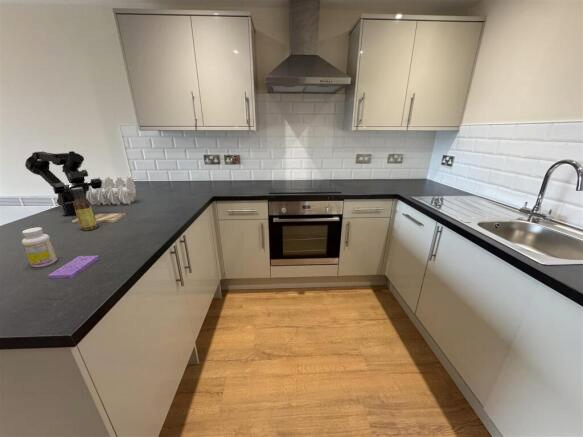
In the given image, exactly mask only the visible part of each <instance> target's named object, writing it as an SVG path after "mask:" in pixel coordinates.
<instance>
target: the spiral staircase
mask: <svg viewBox="0 0 583 437" xmlns="http://www.w3.org/2000/svg"><path fill="white" fill-rule="evenodd" d="M98 178H99V179H100V180H101V181H102V185H101V188H97V189H93V188H92V187H91V186H89V191H87V192H86V198H87V199H88V201H89V202H90V203H91V205H97V206H99V205H101V204H103V205H107V204H108V205H111V203H112V204H114V205H117V206H120V205H121V203H122V204H128V205H130V204H131V203H134V199H135V197H137V196H136V194H137V190H136V186H137V185H136V183H135V180H134V179H132V177H131V176H130V177H126V179H125V180H123V179H122V177H118V176H117V177H116V179H115V180H113V178H110V176H107V177H105V178H104V179H101V177H97V178H96V177H94V178H93V179H98Z"/></svg>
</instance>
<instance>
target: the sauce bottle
mask: <svg viewBox="0 0 583 437" xmlns="http://www.w3.org/2000/svg"><path fill="white" fill-rule="evenodd" d="M71 190H72V192H73V194H74V198H75V200H74V203H73V205H74V208H75V212H76V214H77V215H76V217H77V218H78V220H79V223H78V224H79V226H80V228H81V229H82V231H85V232H87V231H92V230H96V229H97V228H98V223H97V221H96V218H95V215H94V214H95V213H94V212H95V211H94V210H93V209H94V208H93V206H92V205H93V204H92V203H90V202H89V201H88V199H87V198H86V197H85V195H84V192H83V188H82V187H80V188H73V189H71Z"/></svg>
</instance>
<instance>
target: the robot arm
mask: <svg viewBox="0 0 583 437" xmlns="http://www.w3.org/2000/svg"><path fill="white" fill-rule="evenodd" d="M84 161H85V157H84V156H83V155H81V154H80V153H76V152H75V151H73V150H72V151H68V152H65V153H64V152H63V153H52V152H46V151H34V152H32V155H30V156H29V157H28V158H27V159H26V161H25V165H24V166H25V168H26V170H28V171H29V172H30V173H32V174H33V175H37V176H40V177H41V178H42V179H43V180H44V181H45V182H46V183H48V184H49V185H50V187H52V190H53V192H54V194H56V195H57V199H56V203H57V205H58V206H61V207H62V209H63V212H64V214H62V216H63V217H69V216H70V217H75V216H76V217H77V214H76V212H75V208H74V205H73V203H74V200H75V198H74V194H73V192H72V190H71V189H73V188H80V187H82V188H83V192H84V195H85V197H86V192H87V191H89V186H90V187H91V189H92V190H93V189H97V188H101V185H102V181H101V180H102V179H101V178H100V179H101V180H100V179H99V178H98V177H97V178H98V179H94V178H91V179H90V181H87V182H86V178H87V177H89V173H88V170H87V169H81V170H79V169H80V168H81V167H82V165H83V162H84ZM51 164H52V165H55V166H62V167H61V168H62V173H64V175H65V176H66V179H67V181H68V183H69V184H65V183H64V182H63V181H62V180H61V179H60V178H59V177H57V176H56V174H55V173H54V172H52V171H51V170H50V165H51ZM85 177H86V178H85Z"/></svg>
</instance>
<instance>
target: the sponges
mask: <svg viewBox="0 0 583 437" xmlns="http://www.w3.org/2000/svg"><path fill="white" fill-rule="evenodd" d="M99 260H100V256H99V255H82V256H81V255H78V256H76V258H73V259H72V260H70V261H69V262H67V263H66V264H64V265H63V266H60V267H59V268H57V269H56V270H54V271H52V272H51V273H49V274H48V278H50V279H71V278H74V277H76V276H77V275H78V274H80V273H82V271H84V270H85V269H87V268H88V267H89V266H91V265H92V264H94V263H96V262H97V261H99Z"/></svg>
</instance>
